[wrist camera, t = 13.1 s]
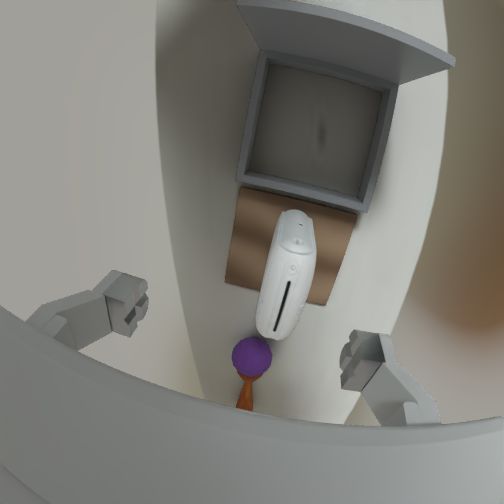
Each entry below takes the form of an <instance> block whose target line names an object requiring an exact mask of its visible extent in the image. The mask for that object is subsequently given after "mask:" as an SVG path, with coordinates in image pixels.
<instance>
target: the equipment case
mask: <svg viewBox="0 0 504 504" xmlns="http://www.w3.org/2000/svg"><path fill="white" fill-rule="evenodd" d="M236 6H237V7H238V9H239V11H240V13H241V14H242V16H243V18H244V20H245V22H246V23H247V25H248V27H249V29H250V31H251V33H252V35H253V36H254V38H255V40H256V42H257V44H258V46H259V48H260V53H259V58H258V63H257V67H256V72H255V77H254V82H253V87H252V92H251V97H250V102H249V107H248V113H247V118H246V123H245V129H244V134H243V139H242V145H241V150H240V156H239V162H238V167H237V173H236V179H235V181H239V182H244V183H249V184H254V185H258V186H263V187H268V188H272V189H277V190H281V191H285V192H290V193H294V194H298V195H302V196H306V197H310V198H314V199H318V200H322V201H326V202H330V203H334V204H337V205H341V206H345V207H349V208H352V209H356V210H359V211H363V212H366V213H367V212H368V209H369V206H370V202H371V199H372V196H373V192H374V189H375V185H376V182H377V178H378V175H379V171H380V167H381V164H382V160H383V156H384V152H385V148H386V144H387V140H388V135H389V131H390V127H391V122H392V118H393V113H394V108H395V103H396V98H397V92H398V87H399V85H401V84H404V83H407V82H410V81H412V80H415V79H418V78H421V77H424V76H427V75H430V74H434V73H437V72H440V71H443V70H447V69H450V68H453V67H455V57H454V56H452V55H450V54H448V53H446V52H444V51H443V50H441V49H439V48H437V47H435V46H433V45H431V44H429V43H427V42H425V41H422V40H420V39H418V38H416V37H414V36H411V35H409V34H407V33H404V32H402V31H399V30H397V29H394V28H392V27H389V26H386V25H384V24H381V23H378V22H375V21H372V20H369V19H366V18H363V17H360V16H356V15H353V14H350V13H346V12H342V11H338V10H334V9H330V8H326V7H322V6H317V5H312V4H307V3H301V2H296V1H289V0H237V3H236ZM269 63H270V64H276V65H282V66H287V67H292V68H297V69H302V70H307V71H311V72H316V73H320V74H324V75H328V76H332V77H335V78H339V79H343V80H346V81H349V82H353V83H356V84H359V85H362V86H366V87H369V88H372V89H374V90H377V91H380V92H383V93H382V98H381V103H380V108H379V113H378V118H377V122H376V127H375V131H374V135H373V140H372V144H371V148H370V152H369V156H368V160H367V164H366V168H365V171H364V175H363V179H362V182H361V186H360V190H359V193H358V197H355V196H351V195H348V194H344V193H341V192H337V191H333V190H329V189H326V188H322V187H318V186H314V185H310V184H306V183H302V182H298V181H293V180H289V179H285V178H280V177H276V176H271V175H267V174H262V173H257V172H252V171H249V165H250V160H251V155H252V149H253V144H254V139H255V134H256V128H257V123H258V118H259V113H260V108H261V103H262V98H263V93H264V88H265V83H266V78H267V73H268V68H269Z"/></svg>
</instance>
